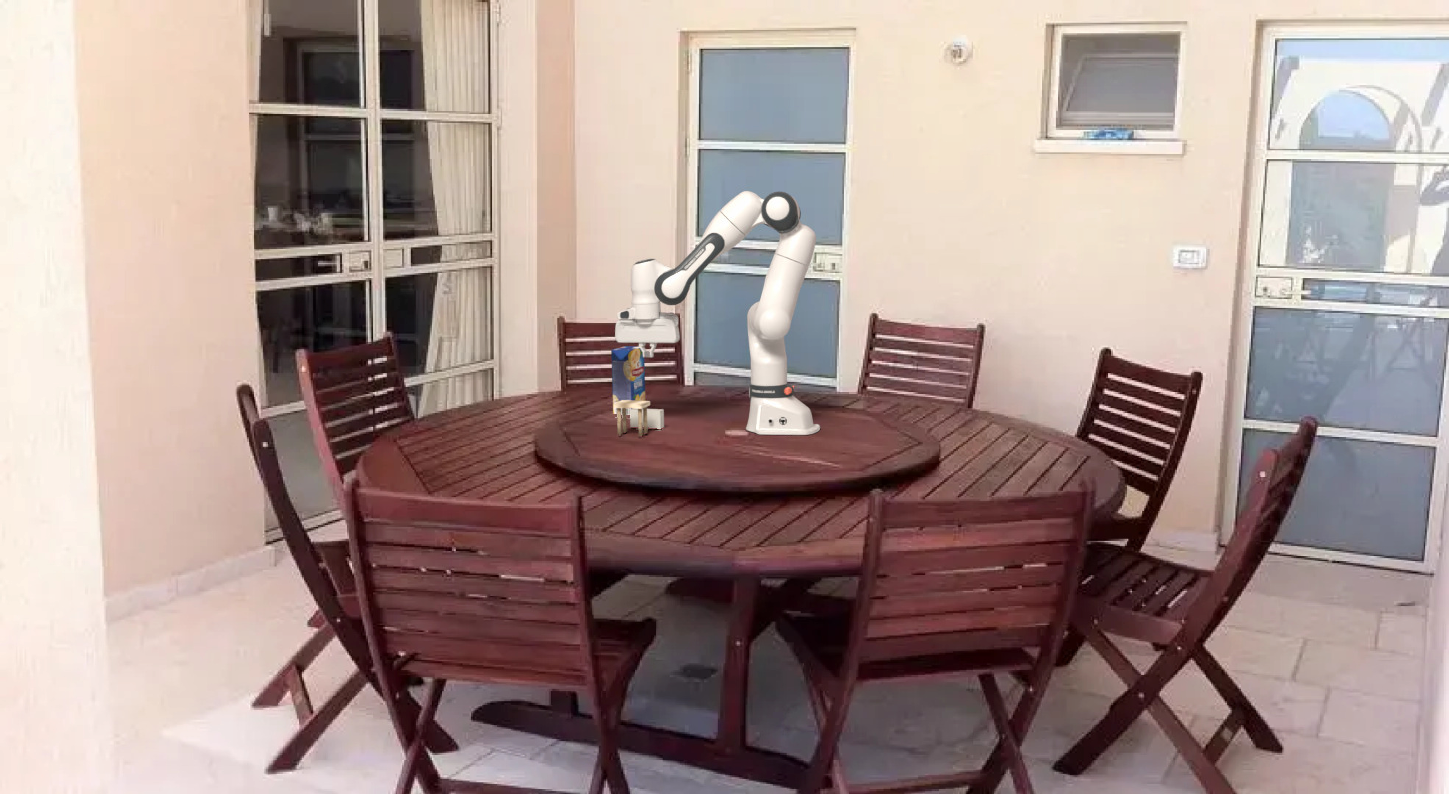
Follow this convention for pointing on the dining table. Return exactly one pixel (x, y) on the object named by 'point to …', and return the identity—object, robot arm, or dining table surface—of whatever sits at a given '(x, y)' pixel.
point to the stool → (634, 405)
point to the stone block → (648, 418)
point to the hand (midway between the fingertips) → (648, 357)
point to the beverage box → (628, 375)
